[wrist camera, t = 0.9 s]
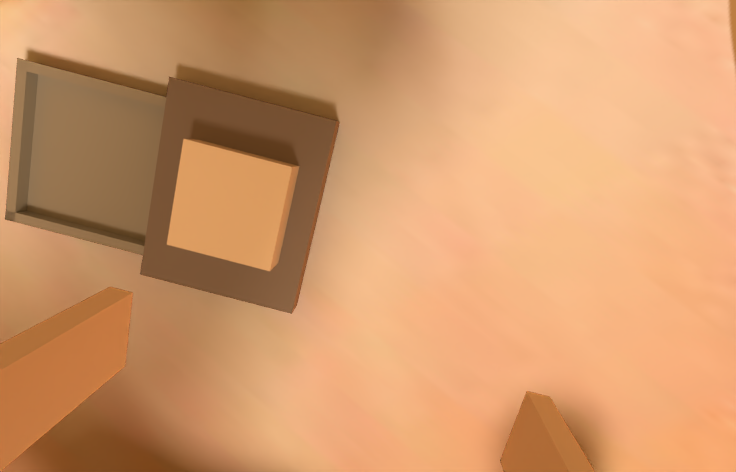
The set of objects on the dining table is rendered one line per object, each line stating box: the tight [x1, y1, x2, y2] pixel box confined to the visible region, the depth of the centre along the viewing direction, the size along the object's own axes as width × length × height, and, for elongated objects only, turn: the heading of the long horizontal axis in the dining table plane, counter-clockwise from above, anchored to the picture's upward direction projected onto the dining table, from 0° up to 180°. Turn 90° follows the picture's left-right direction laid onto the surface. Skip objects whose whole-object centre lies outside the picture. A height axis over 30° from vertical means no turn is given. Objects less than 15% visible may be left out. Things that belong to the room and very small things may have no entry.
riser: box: [140, 77, 339, 314], centre depth 33 cm, size 16×13×2 cm
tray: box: [5, 58, 166, 255], centre depth 34 cm, size 13×12×2 cm
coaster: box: [167, 139, 299, 271], centre depth 31 cm, size 8×8×2 cm
